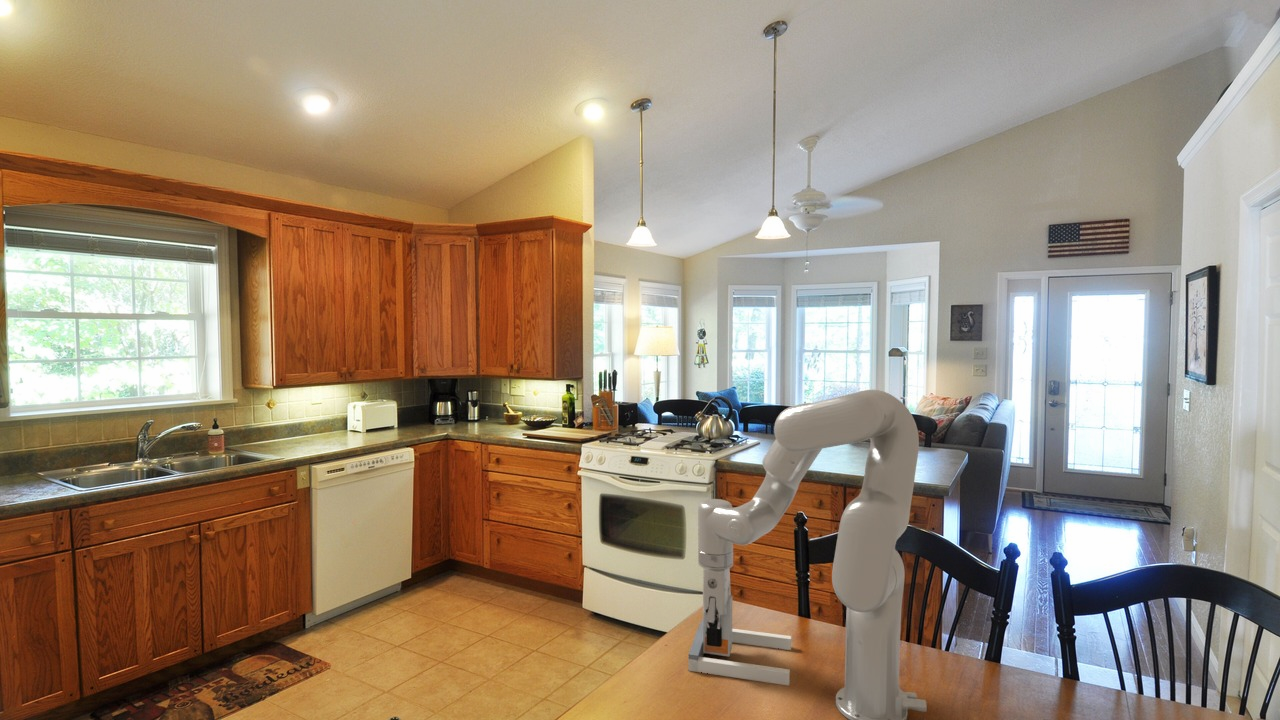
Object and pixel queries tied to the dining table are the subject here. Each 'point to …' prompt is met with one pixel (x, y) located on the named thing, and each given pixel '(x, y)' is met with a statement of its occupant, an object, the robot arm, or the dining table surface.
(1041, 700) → the dining table surface
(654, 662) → the dining table surface
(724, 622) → the skincare box
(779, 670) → the guide channel
